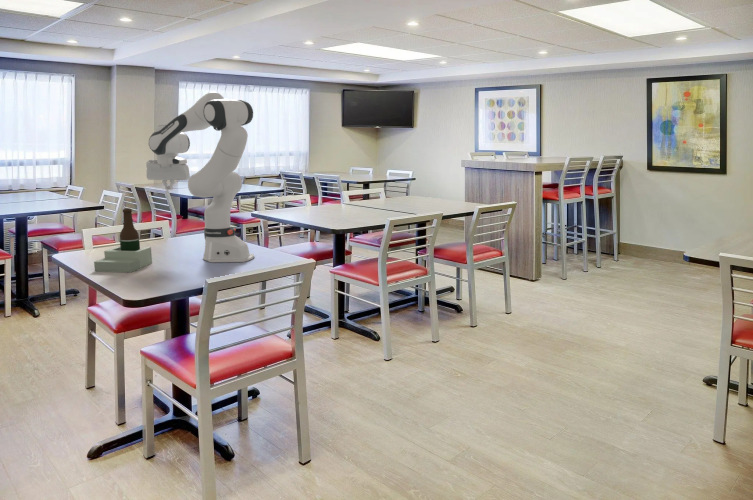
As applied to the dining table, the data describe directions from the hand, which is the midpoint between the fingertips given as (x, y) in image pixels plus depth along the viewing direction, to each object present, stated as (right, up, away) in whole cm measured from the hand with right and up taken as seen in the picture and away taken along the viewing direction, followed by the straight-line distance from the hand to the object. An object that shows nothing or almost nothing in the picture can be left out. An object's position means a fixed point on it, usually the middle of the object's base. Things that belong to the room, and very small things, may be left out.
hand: (168, 189), depth 285 cm
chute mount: (-8, -36, -31) cm, 48 cm away
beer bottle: (-8, -35, -25) cm, 44 cm away
